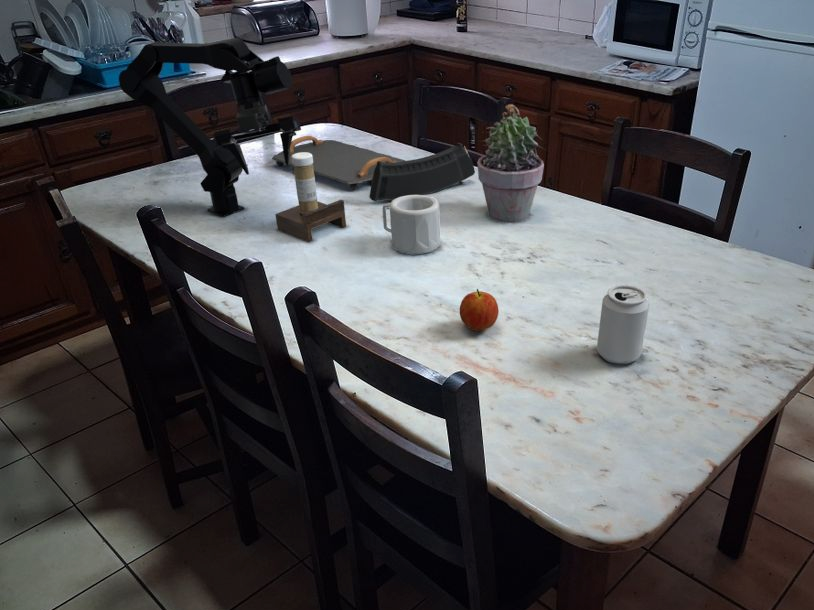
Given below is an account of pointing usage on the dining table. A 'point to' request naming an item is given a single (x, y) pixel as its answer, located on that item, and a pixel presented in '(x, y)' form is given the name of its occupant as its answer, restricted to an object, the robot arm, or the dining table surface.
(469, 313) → the fruit
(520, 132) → the potted plant
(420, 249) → the mug
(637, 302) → the can
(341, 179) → the serving tray
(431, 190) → the magazine
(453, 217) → the dining table surface
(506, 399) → the dining table surface
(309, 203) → the sprinkles bottle
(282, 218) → the shelf
